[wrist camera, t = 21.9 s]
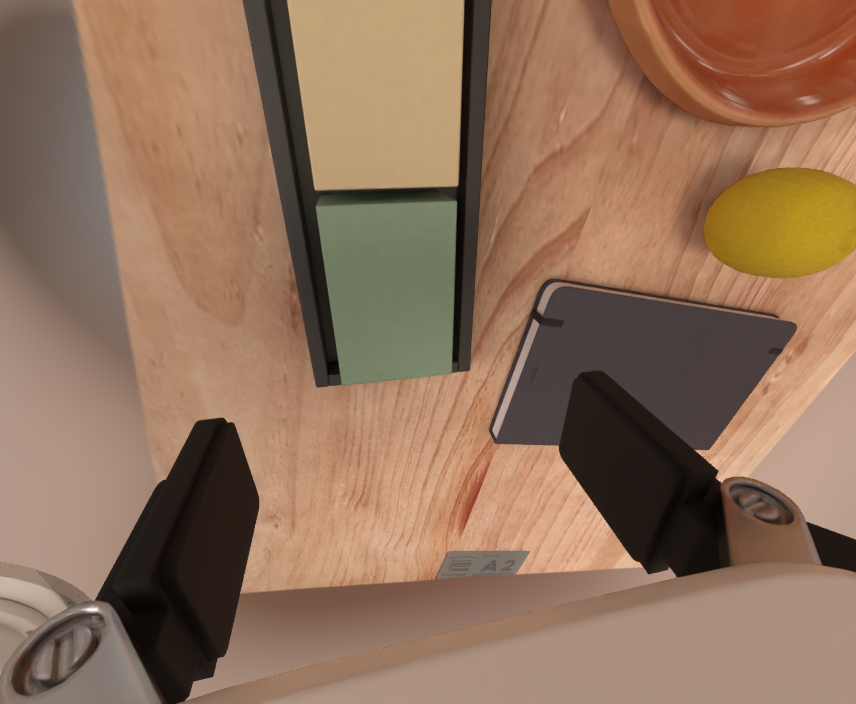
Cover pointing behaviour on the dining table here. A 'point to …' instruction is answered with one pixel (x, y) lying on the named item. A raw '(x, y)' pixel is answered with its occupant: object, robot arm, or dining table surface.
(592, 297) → the notebook
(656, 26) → the saucer
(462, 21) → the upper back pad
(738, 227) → the lemon
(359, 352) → the pad
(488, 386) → the dining table surface
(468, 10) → the tray
